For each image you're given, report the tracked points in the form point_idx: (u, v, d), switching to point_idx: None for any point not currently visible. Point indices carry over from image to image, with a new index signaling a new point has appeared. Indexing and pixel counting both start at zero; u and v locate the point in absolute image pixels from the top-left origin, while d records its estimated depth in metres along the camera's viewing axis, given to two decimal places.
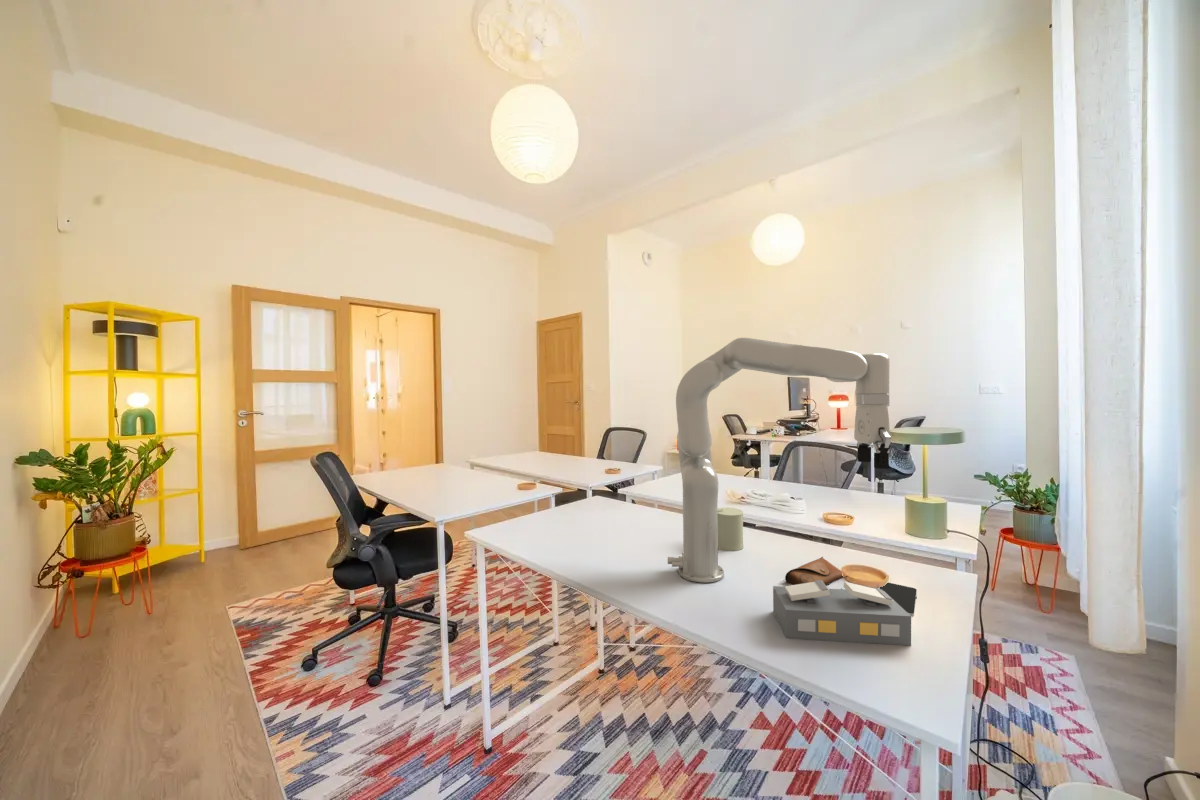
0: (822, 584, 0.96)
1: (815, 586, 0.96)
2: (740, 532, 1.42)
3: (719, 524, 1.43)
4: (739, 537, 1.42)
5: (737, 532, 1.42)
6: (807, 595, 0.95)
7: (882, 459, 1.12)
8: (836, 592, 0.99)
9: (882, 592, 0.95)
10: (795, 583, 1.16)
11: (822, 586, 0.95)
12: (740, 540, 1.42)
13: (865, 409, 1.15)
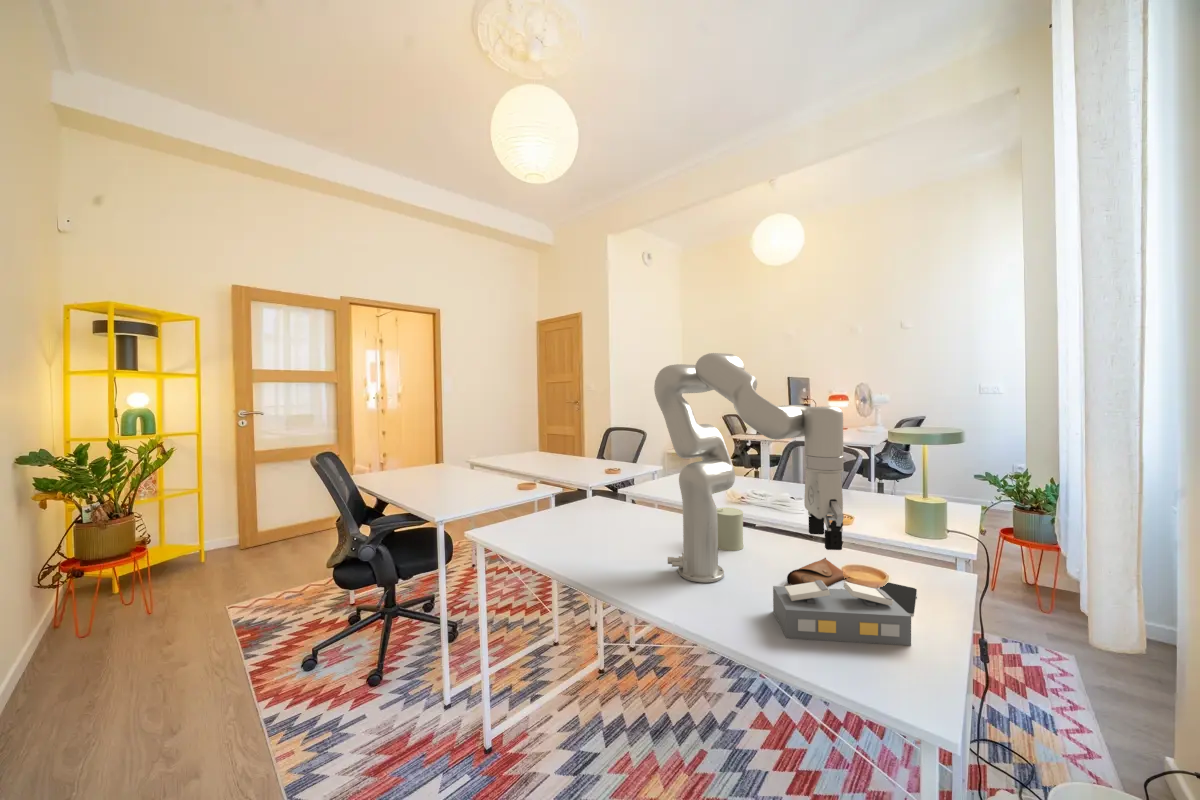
0: (822, 584, 0.96)
1: (815, 586, 0.96)
2: (740, 532, 1.42)
3: (719, 524, 1.43)
4: (739, 537, 1.42)
5: (737, 532, 1.42)
6: (807, 595, 0.95)
7: (834, 539, 0.91)
8: (836, 592, 0.99)
9: (882, 592, 0.95)
10: None
11: (822, 586, 0.95)
12: (740, 540, 1.42)
13: (814, 474, 0.94)
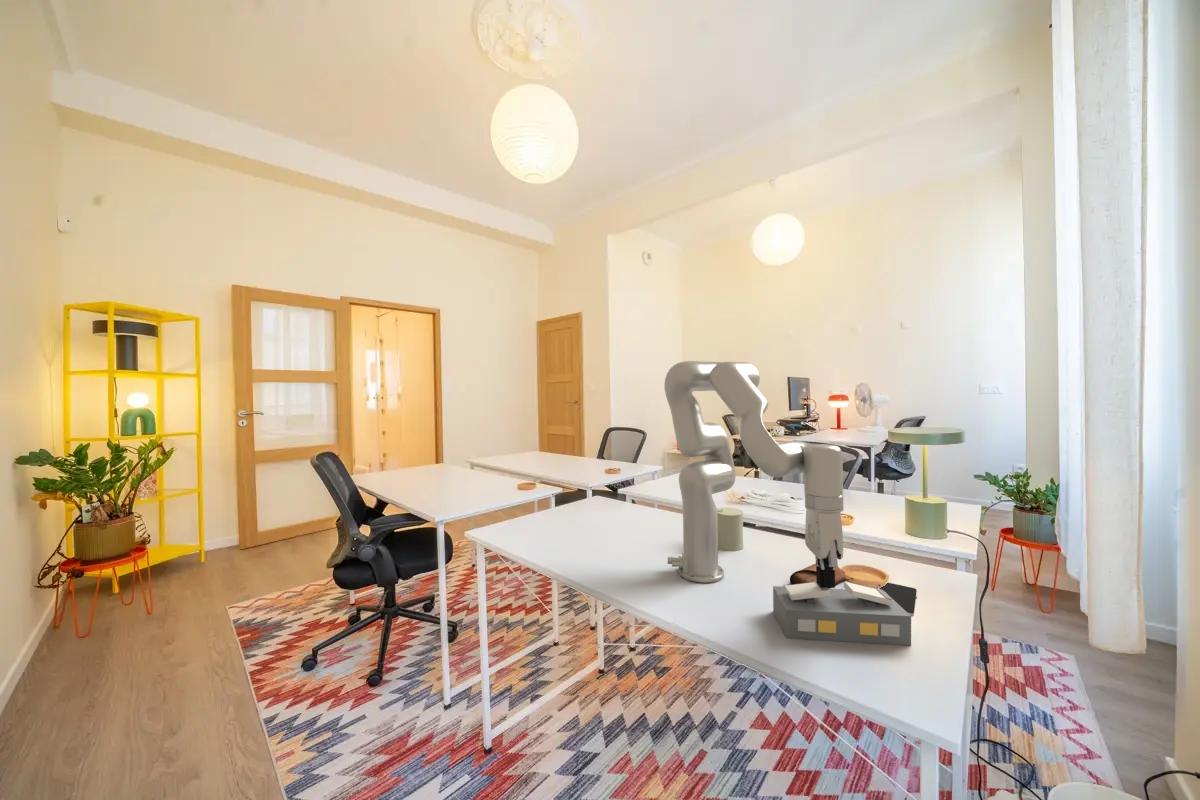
0: None
1: (815, 586, 0.96)
2: (740, 532, 1.42)
3: (719, 524, 1.43)
4: (739, 537, 1.42)
5: (737, 532, 1.42)
6: (807, 595, 0.95)
7: (827, 577, 0.94)
8: (836, 592, 0.99)
9: (882, 592, 0.95)
10: None
11: None
12: (740, 540, 1.42)
13: (814, 514, 0.94)
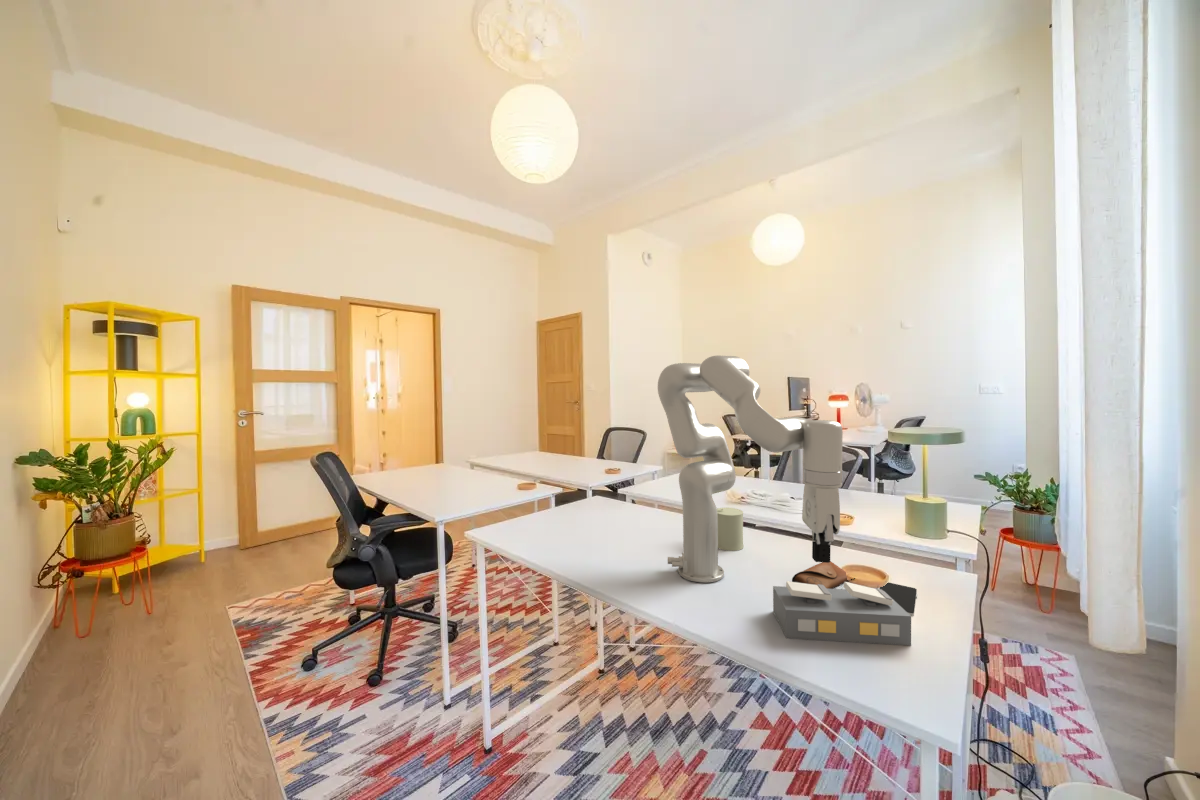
0: (825, 589, 0.96)
1: (817, 589, 0.96)
2: (740, 532, 1.42)
3: (719, 524, 1.43)
4: (739, 537, 1.42)
5: (737, 532, 1.42)
6: (808, 594, 0.95)
7: (822, 552, 0.95)
8: (836, 592, 0.99)
9: (882, 592, 0.95)
10: None
11: (825, 590, 0.95)
12: (740, 540, 1.42)
13: (812, 489, 0.94)
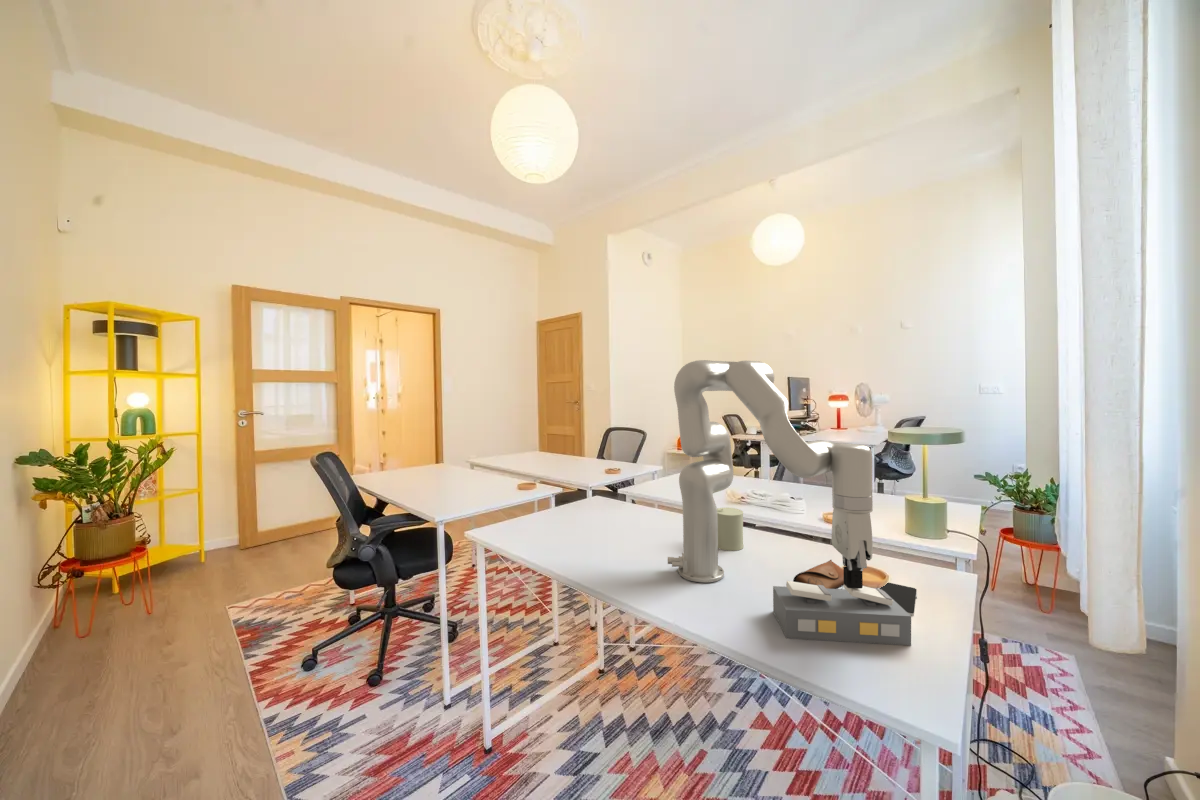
0: (825, 589, 0.96)
1: (817, 589, 0.96)
2: (740, 532, 1.42)
3: (719, 524, 1.43)
4: (739, 537, 1.42)
5: (737, 532, 1.42)
6: (808, 594, 0.95)
7: (854, 578, 0.94)
8: (836, 592, 0.99)
9: (882, 592, 0.95)
10: None
11: (825, 591, 0.95)
12: (740, 540, 1.42)
13: (843, 514, 0.93)
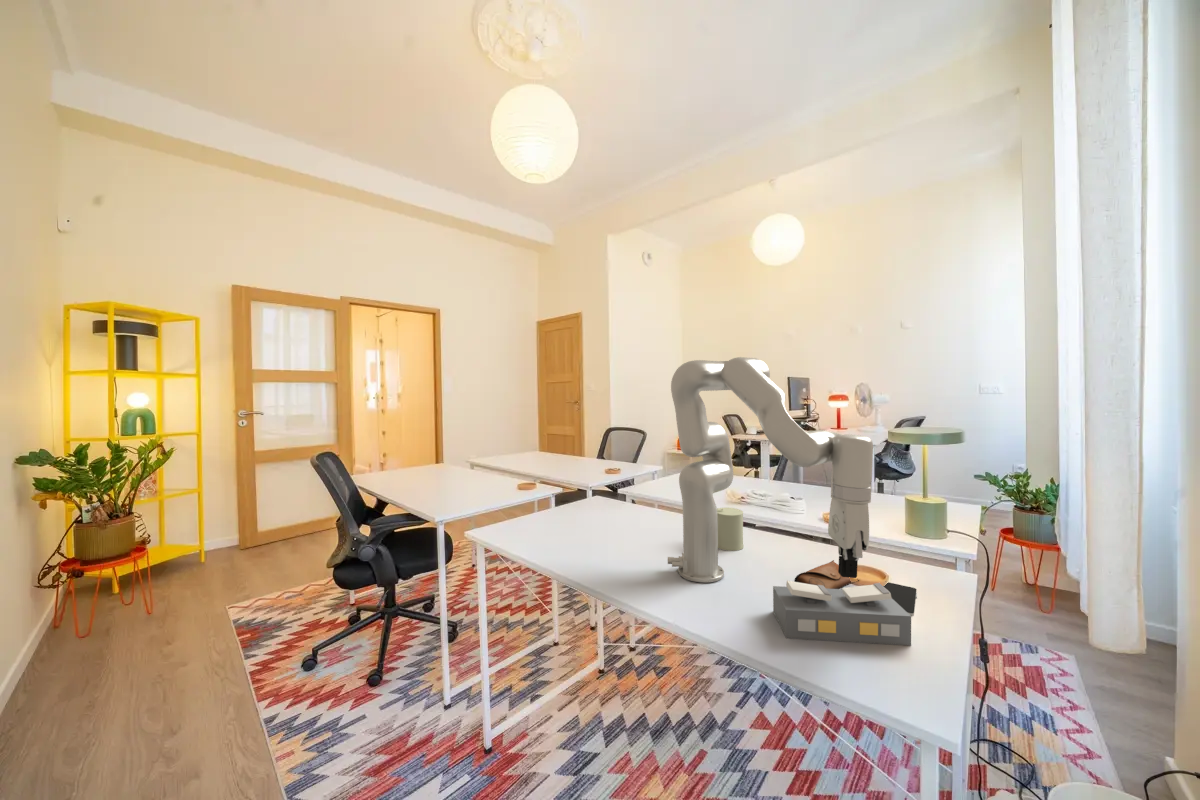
0: (825, 589, 0.96)
1: (817, 589, 0.96)
2: (740, 532, 1.42)
3: (719, 524, 1.43)
4: (739, 537, 1.42)
5: (737, 532, 1.42)
6: (808, 594, 0.95)
7: (849, 567, 0.94)
8: (836, 592, 0.99)
9: (879, 587, 0.95)
10: None
11: (825, 591, 0.95)
12: (740, 540, 1.42)
13: (841, 504, 0.93)
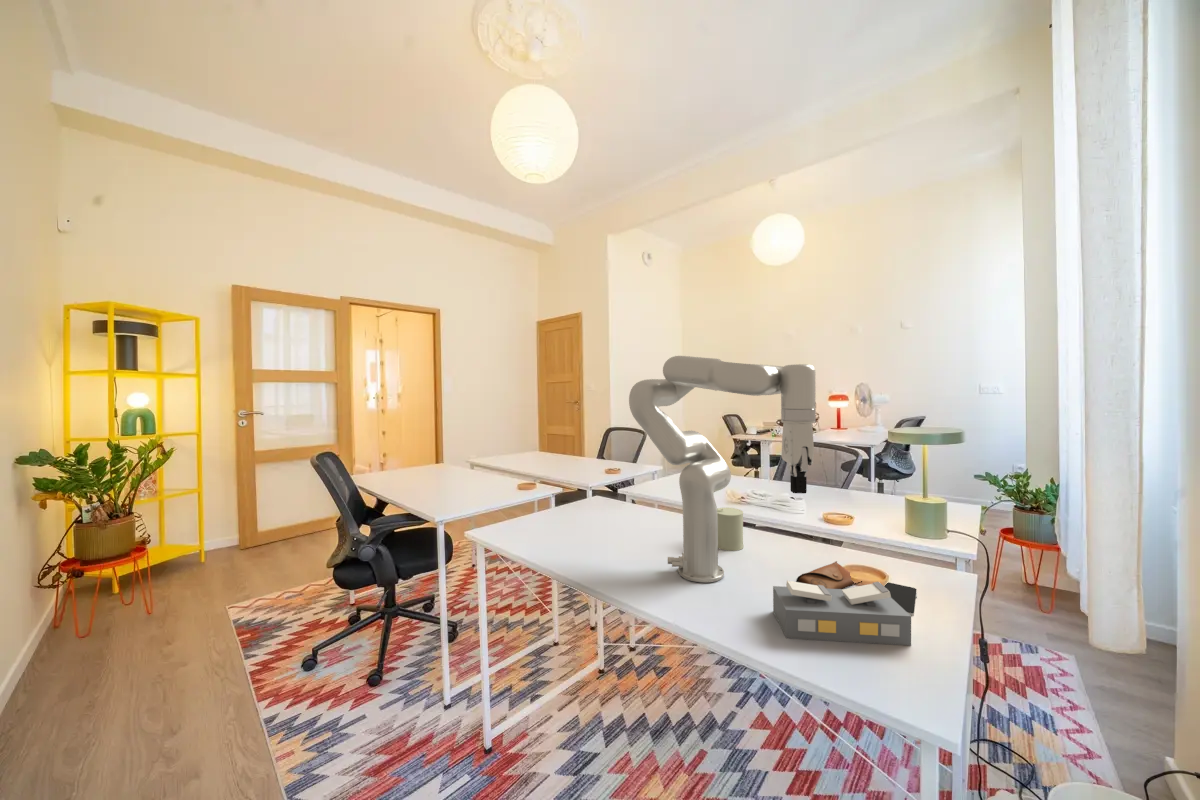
0: (825, 589, 0.96)
1: (817, 589, 0.96)
2: (740, 532, 1.42)
3: (719, 524, 1.43)
4: (739, 537, 1.42)
5: (737, 532, 1.42)
6: (808, 594, 0.95)
7: (799, 483, 1.04)
8: (836, 592, 0.99)
9: (878, 585, 0.95)
10: None
11: (825, 591, 0.95)
12: (740, 540, 1.42)
13: (789, 426, 1.04)
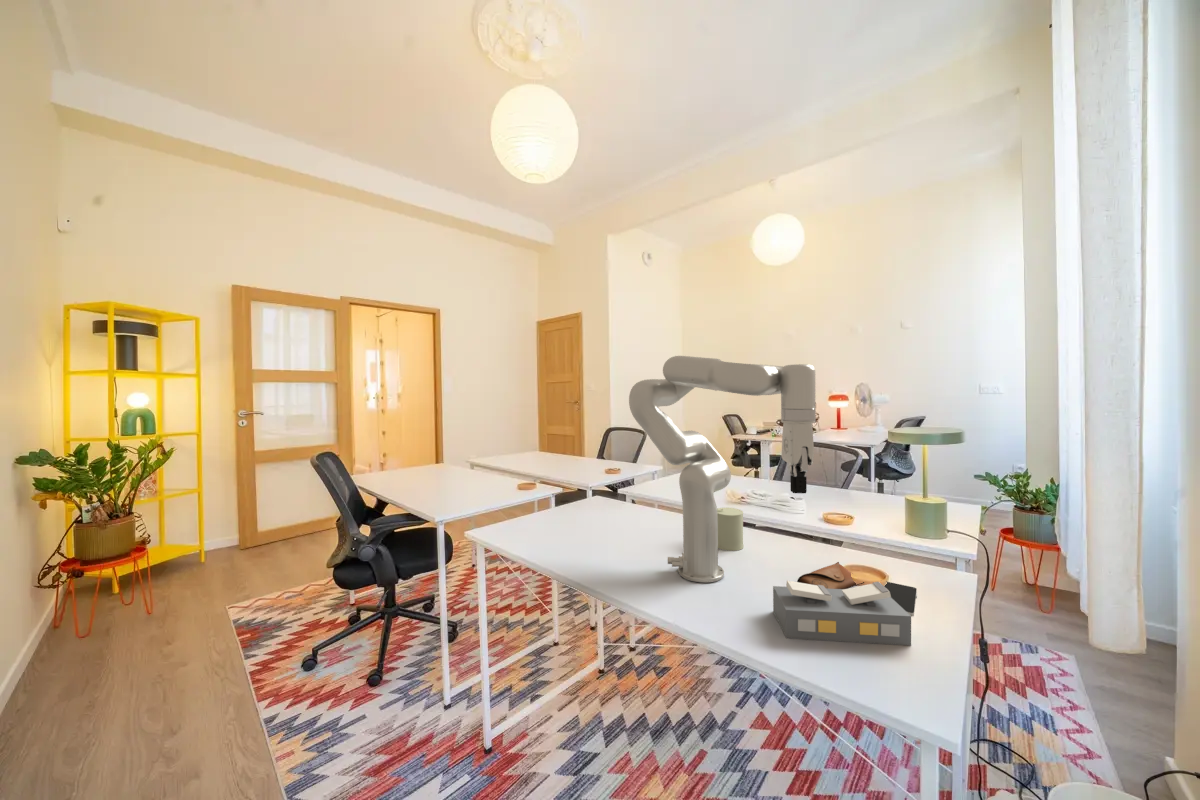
0: (825, 589, 0.96)
1: (817, 589, 0.96)
2: (740, 532, 1.42)
3: (719, 524, 1.43)
4: (739, 537, 1.42)
5: (737, 532, 1.42)
6: (808, 594, 0.95)
7: (799, 483, 1.04)
8: (836, 592, 0.99)
9: (878, 585, 0.95)
10: None
11: (825, 591, 0.95)
12: (740, 540, 1.42)
13: (789, 425, 1.04)
